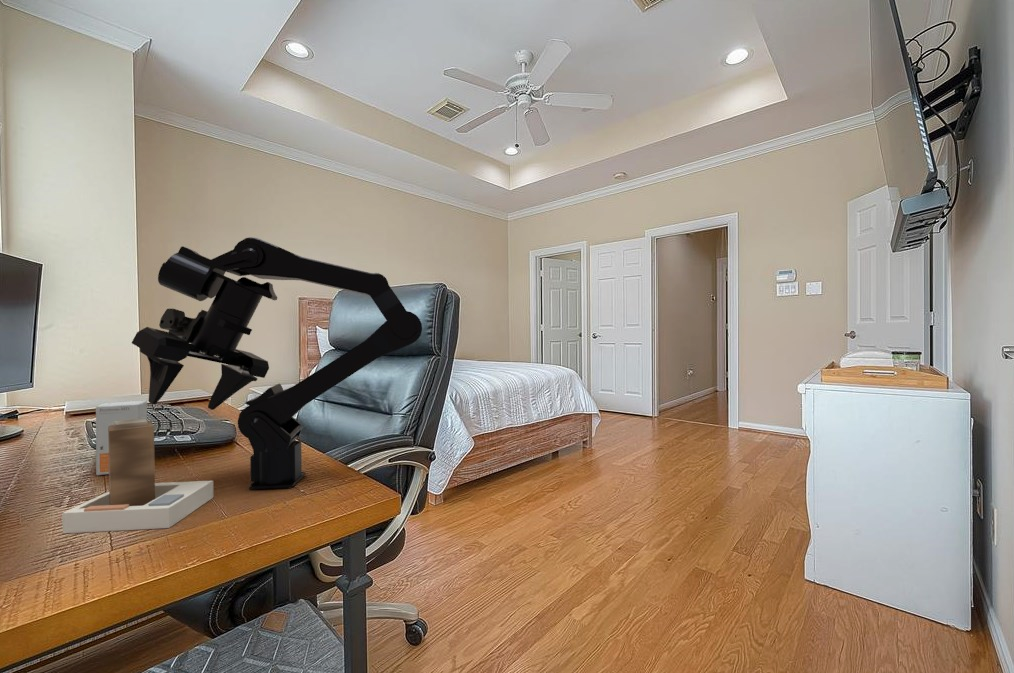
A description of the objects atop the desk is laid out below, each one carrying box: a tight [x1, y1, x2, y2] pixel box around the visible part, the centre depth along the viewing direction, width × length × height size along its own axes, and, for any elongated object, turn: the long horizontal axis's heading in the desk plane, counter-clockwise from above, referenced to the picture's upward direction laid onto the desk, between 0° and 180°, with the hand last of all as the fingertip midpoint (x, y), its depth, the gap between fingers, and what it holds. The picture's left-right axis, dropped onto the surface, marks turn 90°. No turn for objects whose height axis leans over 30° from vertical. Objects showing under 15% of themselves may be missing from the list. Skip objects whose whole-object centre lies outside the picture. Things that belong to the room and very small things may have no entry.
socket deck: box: [61, 480, 214, 534], centre depth 59 cm, size 12×10×3 cm
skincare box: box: [95, 400, 148, 476], centre depth 77 cm, size 6×4×12 cm
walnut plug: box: [108, 418, 156, 506], centre depth 58 cm, size 4×4×13 cm
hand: (182, 406), depth 67 cm, fingers open, 9 cm apart
